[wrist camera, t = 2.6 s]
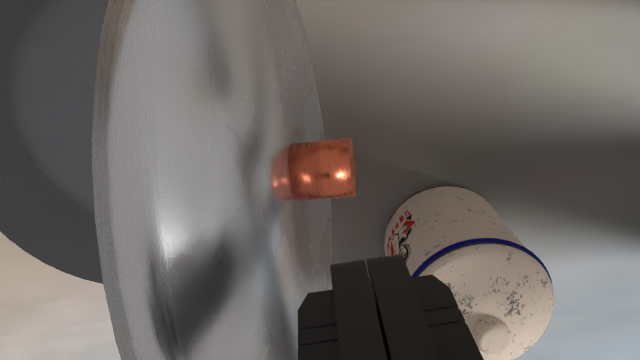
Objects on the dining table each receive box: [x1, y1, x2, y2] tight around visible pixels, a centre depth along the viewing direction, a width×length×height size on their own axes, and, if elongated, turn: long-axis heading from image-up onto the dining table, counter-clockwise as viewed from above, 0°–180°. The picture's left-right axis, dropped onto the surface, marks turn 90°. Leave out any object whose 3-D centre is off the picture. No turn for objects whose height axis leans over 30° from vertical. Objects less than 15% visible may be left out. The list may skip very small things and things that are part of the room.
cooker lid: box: [92, 0, 357, 360], centre depth 16 cm, size 17×17×3 cm
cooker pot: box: [0, 0, 109, 284], centre depth 29 cm, size 16×24×10 cm, turn 8°
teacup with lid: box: [384, 186, 554, 360], centre depth 34 cm, size 12×9×12 cm
